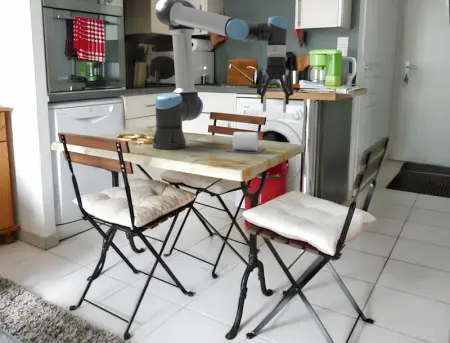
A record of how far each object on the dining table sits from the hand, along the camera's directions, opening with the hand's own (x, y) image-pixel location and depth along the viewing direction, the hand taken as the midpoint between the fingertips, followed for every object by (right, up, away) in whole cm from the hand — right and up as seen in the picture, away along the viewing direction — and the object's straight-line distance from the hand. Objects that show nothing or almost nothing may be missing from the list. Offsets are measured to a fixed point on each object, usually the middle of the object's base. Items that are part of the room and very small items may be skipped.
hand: (274, 111), depth 189 cm
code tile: (-12, -16, +7) cm, 21 cm away
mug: (-12, -16, +7) cm, 21 cm away
